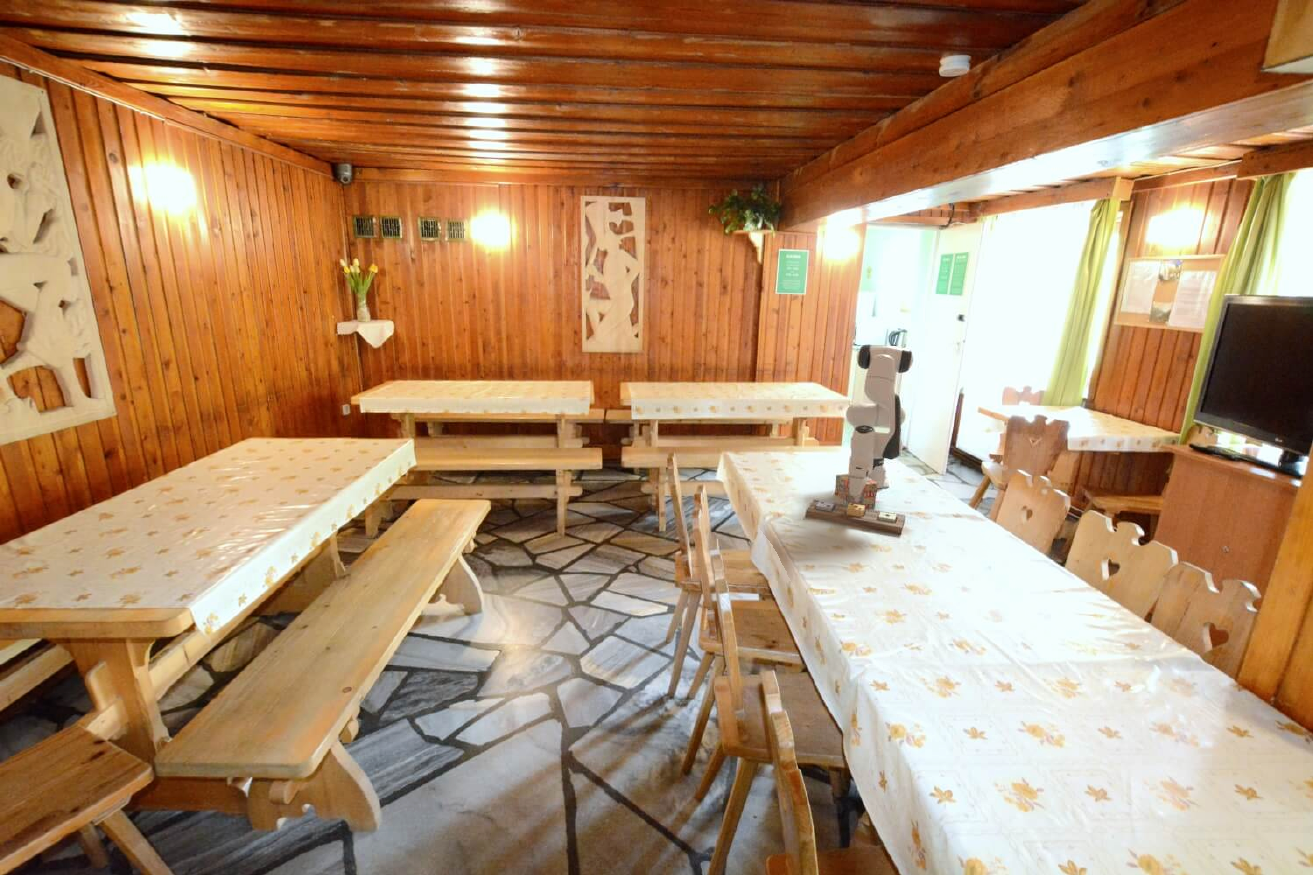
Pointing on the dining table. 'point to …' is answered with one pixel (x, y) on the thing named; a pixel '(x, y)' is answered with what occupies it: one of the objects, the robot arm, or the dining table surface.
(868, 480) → the stack of blocks
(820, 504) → the button two
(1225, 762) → the dining table surface
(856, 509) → the button three
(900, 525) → the console
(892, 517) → the button one
